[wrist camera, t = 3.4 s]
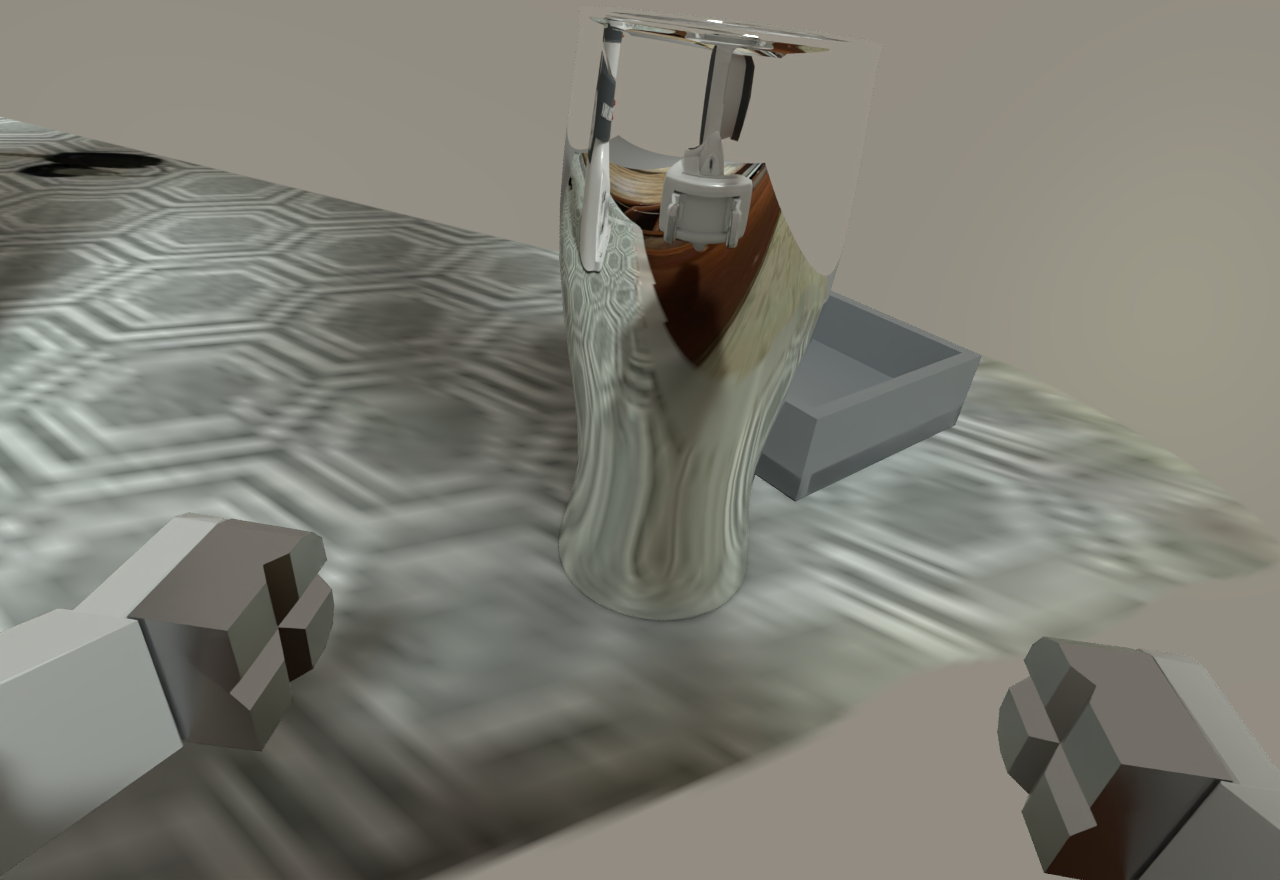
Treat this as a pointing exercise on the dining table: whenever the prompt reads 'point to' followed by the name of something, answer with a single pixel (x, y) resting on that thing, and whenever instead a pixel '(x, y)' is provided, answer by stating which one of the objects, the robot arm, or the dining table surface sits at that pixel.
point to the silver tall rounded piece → (693, 281)
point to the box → (862, 397)
